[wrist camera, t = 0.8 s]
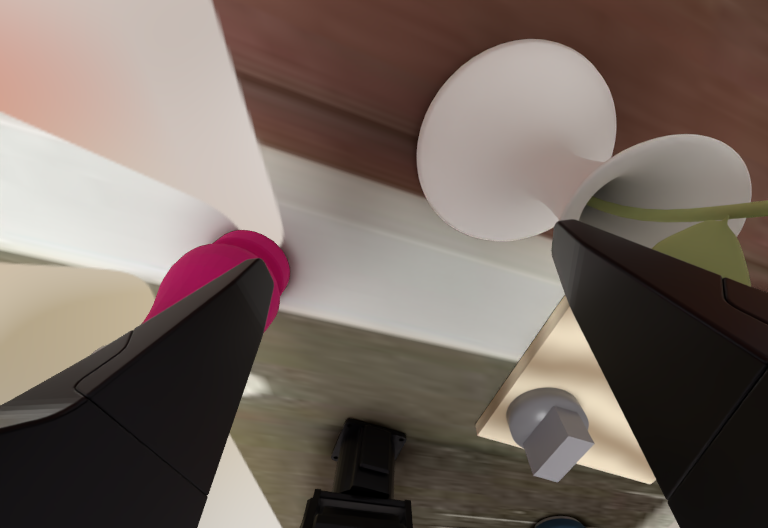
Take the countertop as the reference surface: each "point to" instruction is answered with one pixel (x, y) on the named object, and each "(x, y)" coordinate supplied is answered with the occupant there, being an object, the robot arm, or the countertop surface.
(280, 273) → the pepper mill
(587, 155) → the flower in vase
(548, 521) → the soda can
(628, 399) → the robot arm
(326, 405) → the countertop surface
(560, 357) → the board
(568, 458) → the cap
